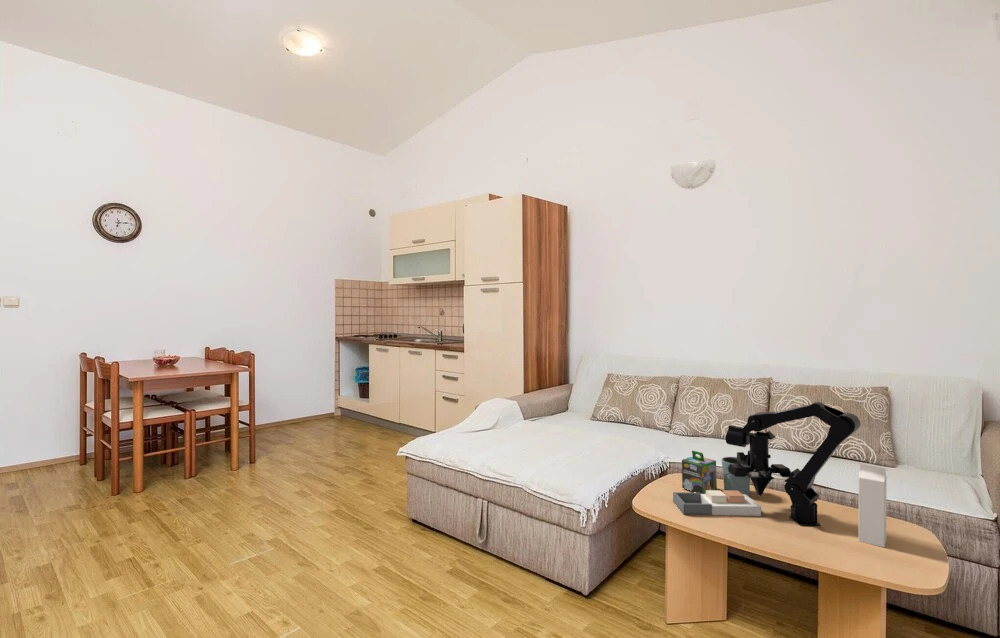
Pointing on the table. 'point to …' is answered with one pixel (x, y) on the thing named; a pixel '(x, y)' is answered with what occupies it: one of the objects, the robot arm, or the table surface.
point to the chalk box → (699, 473)
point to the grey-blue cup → (734, 477)
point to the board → (733, 507)
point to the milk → (872, 505)
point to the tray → (691, 503)
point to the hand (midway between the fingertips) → (759, 495)
